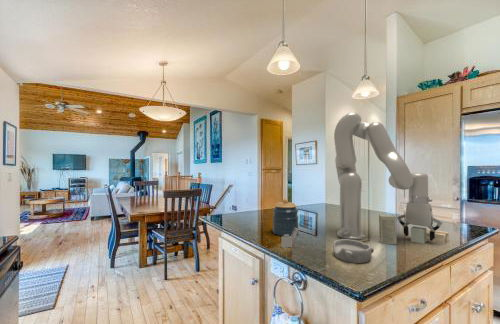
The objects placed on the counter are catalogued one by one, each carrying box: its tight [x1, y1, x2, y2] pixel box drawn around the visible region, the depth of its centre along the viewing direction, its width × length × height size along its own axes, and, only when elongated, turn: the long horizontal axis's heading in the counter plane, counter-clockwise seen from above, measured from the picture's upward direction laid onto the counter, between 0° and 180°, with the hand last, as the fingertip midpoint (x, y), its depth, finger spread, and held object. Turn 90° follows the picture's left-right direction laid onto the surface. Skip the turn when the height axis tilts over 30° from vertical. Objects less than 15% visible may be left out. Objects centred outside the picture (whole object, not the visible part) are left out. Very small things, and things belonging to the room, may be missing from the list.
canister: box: [272, 198, 299, 237], centre depth 127 cm, size 13×13×18 cm
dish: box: [332, 238, 375, 264], centre depth 94 cm, size 14×14×5 cm
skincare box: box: [378, 214, 397, 245], centre depth 112 cm, size 6×4×12 cm
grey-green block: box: [410, 225, 427, 245], centre depth 115 cm, size 5×5×6 cm
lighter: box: [280, 228, 300, 249], centre depth 105 cm, size 7×2×8 cm, turn 99°
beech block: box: [426, 228, 450, 245], centre depth 116 cm, size 8×8×4 cm
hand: (418, 237), depth 115 cm, fingers open, 9 cm apart
